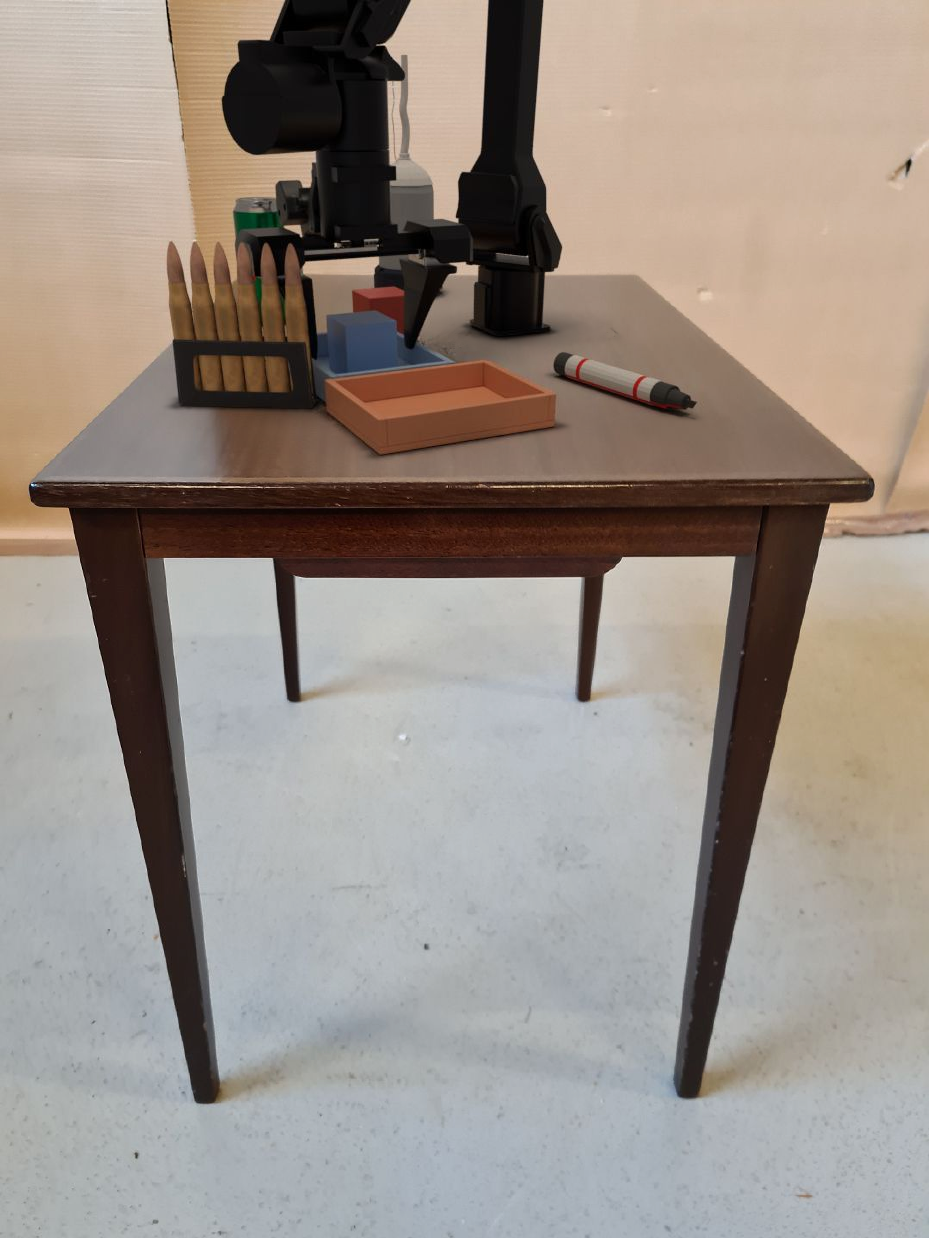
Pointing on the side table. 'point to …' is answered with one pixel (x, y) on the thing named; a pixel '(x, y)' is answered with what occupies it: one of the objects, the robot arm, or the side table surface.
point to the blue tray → (406, 360)
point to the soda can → (256, 225)
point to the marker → (622, 382)
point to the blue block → (361, 341)
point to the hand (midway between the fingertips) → (362, 353)
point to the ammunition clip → (217, 357)
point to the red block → (381, 302)
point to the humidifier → (405, 194)
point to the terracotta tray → (438, 405)
